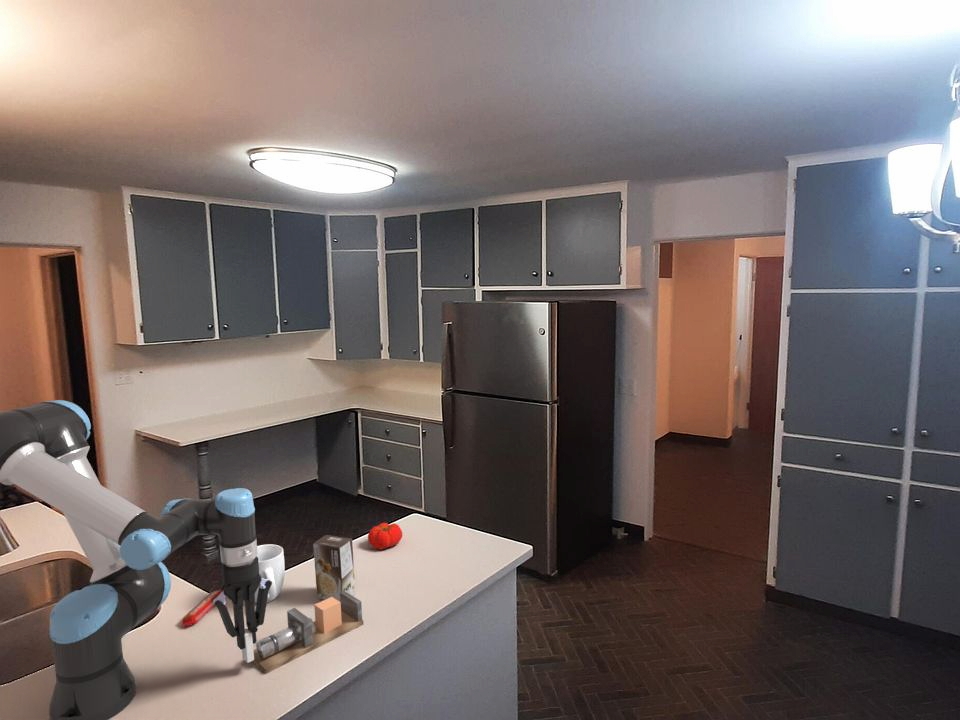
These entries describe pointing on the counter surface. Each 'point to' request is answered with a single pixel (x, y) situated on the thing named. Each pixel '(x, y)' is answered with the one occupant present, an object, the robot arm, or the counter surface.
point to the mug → (271, 568)
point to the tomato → (384, 535)
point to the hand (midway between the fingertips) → (248, 658)
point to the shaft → (280, 640)
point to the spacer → (328, 614)
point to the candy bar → (200, 609)
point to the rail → (309, 642)
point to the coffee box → (334, 567)
